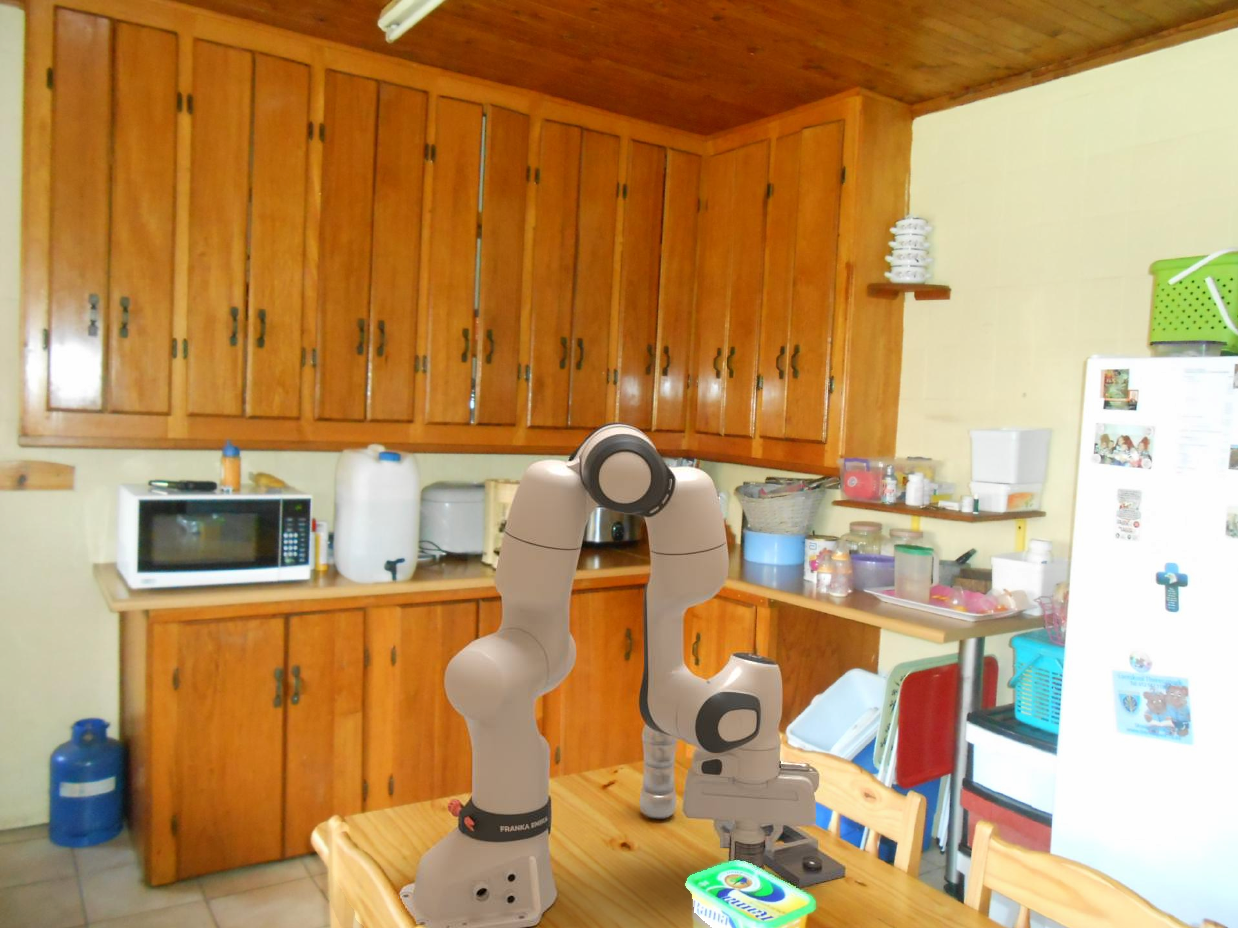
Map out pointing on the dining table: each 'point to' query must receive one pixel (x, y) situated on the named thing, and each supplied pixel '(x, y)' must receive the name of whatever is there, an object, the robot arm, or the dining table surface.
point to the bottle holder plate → (798, 857)
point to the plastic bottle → (658, 774)
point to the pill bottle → (747, 843)
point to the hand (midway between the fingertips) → (746, 848)
